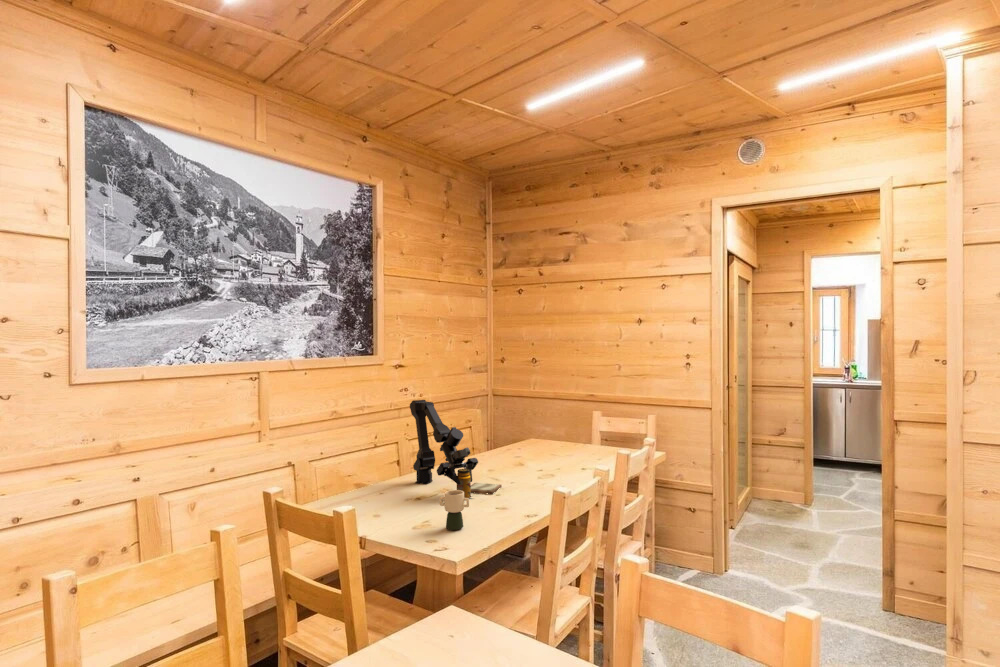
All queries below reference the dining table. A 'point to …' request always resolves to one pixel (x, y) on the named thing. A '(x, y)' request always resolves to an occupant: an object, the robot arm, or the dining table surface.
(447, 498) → the character mug
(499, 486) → the plinth
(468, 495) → the condiment
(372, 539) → the dining table surface
